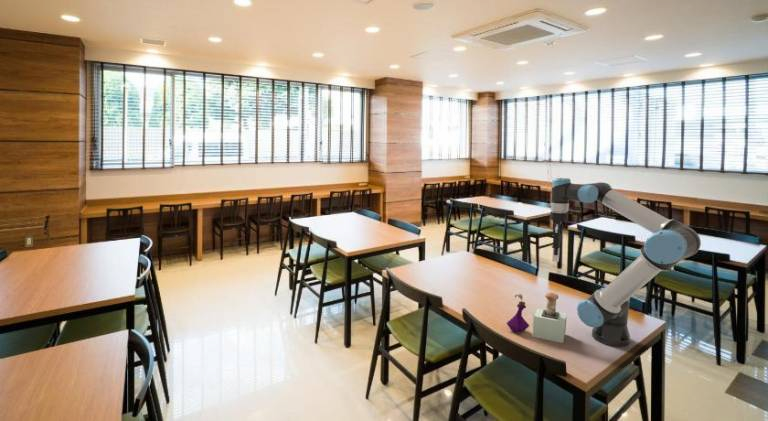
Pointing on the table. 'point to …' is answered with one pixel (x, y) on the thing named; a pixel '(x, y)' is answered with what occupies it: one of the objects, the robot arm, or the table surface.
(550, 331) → the socket block
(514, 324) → the perfume bottle
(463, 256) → the table surface
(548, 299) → the peg
